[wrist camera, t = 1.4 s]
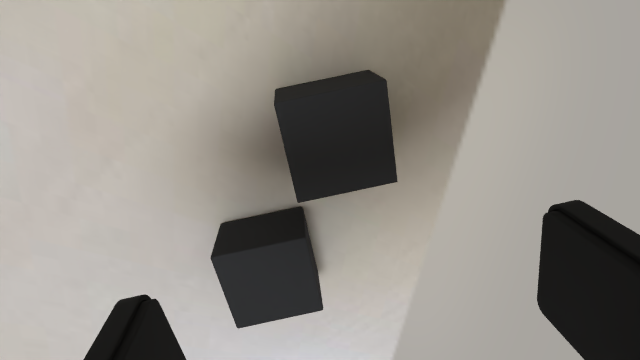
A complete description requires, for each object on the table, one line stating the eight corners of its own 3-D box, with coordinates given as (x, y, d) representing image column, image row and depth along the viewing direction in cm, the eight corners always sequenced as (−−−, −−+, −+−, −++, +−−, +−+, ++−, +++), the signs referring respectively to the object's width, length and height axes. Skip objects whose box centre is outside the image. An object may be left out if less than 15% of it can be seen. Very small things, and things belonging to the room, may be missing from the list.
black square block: (302, 205, 22) (306, 237, 19) (318, 272, 24) (323, 310, 21) (220, 223, 22) (209, 257, 19) (242, 288, 24) (237, 329, 21)
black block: (369, 69, 19) (386, 79, 16) (380, 157, 21) (397, 182, 18) (275, 89, 19) (273, 102, 16) (295, 175, 21) (297, 203, 18)
